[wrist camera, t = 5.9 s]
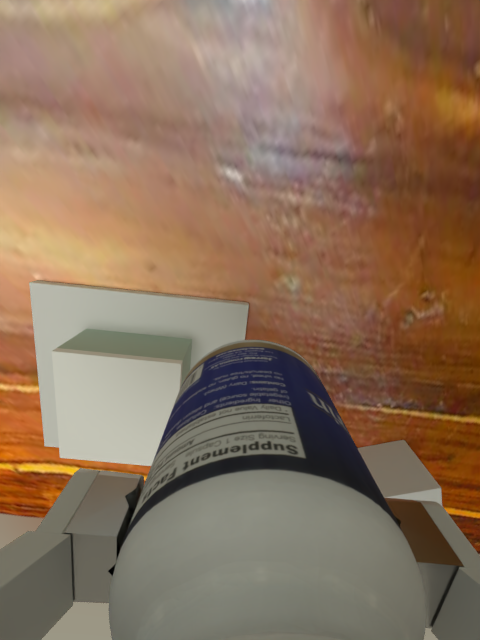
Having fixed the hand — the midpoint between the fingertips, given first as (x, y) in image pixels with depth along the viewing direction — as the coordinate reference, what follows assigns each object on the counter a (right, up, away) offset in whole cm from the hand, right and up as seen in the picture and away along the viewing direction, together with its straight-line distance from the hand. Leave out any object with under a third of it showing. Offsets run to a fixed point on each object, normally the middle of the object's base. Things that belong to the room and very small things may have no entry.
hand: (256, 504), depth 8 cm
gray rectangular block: (+14, -11, +24) cm, 30 cm away
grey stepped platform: (-9, -1, +21) cm, 23 cm away
